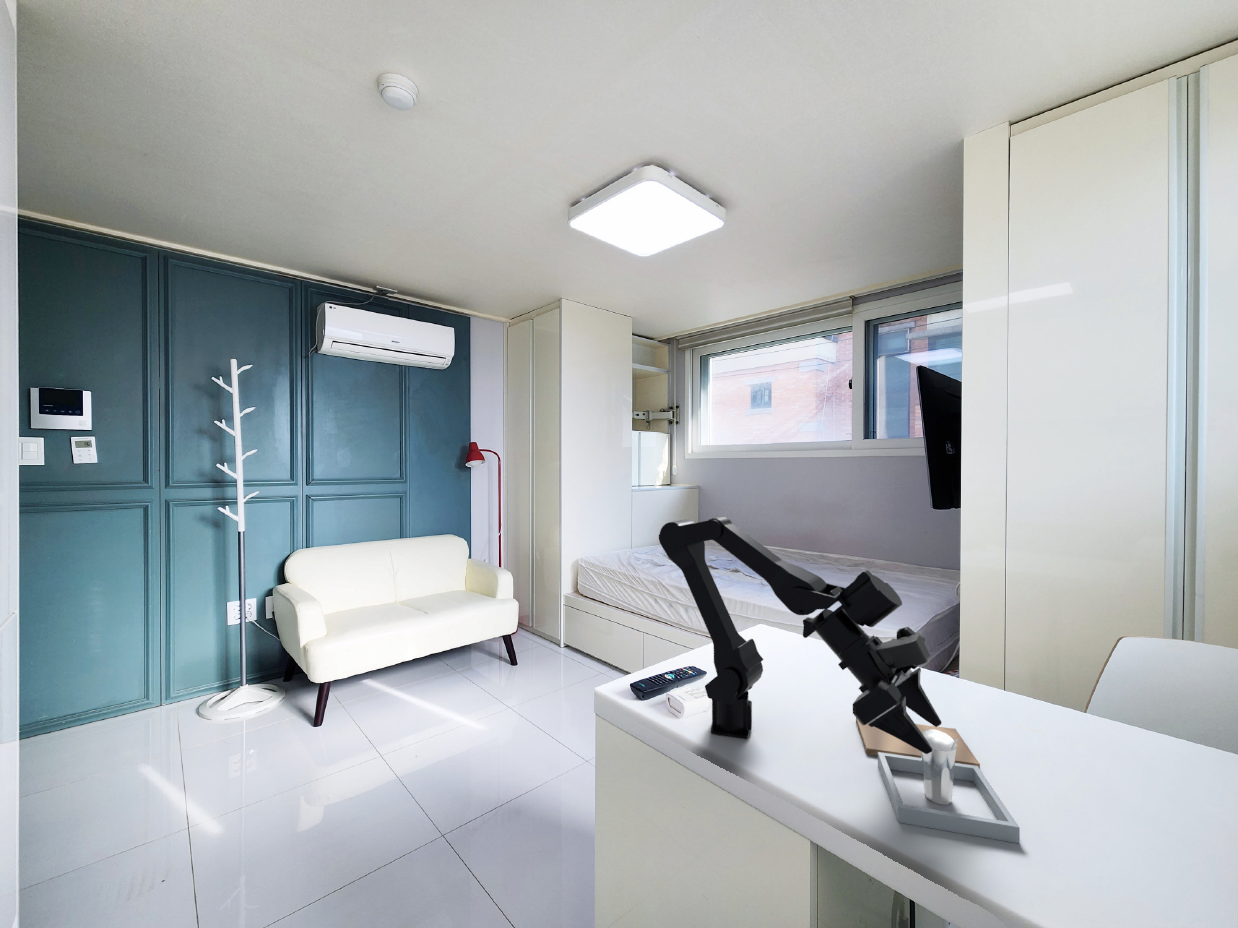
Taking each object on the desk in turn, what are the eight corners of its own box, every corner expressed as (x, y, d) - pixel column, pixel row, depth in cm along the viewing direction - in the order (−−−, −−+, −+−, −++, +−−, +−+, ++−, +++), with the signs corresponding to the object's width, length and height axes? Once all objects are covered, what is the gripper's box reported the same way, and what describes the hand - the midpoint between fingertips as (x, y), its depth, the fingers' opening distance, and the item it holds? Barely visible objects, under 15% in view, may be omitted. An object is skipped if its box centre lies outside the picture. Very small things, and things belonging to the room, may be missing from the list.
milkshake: (944, 814, 69) (944, 740, 69) (911, 790, 74) (911, 721, 74) (970, 808, 70) (969, 735, 70) (936, 785, 75) (935, 717, 76)
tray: (898, 821, 68) (898, 806, 68) (877, 764, 81) (877, 751, 81) (1019, 843, 64) (1019, 827, 64) (977, 779, 77) (977, 765, 77)
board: (866, 754, 84) (866, 747, 84) (855, 721, 94) (855, 716, 94) (979, 770, 79) (979, 763, 79) (955, 734, 90) (955, 728, 90)
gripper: (876, 629, 69) (977, 737, 62) (903, 600, 84) (987, 685, 76) (817, 673, 74) (905, 779, 67) (852, 639, 88) (927, 722, 81)
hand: (934, 737), depth 73 cm, fingers open, 9 cm apart
